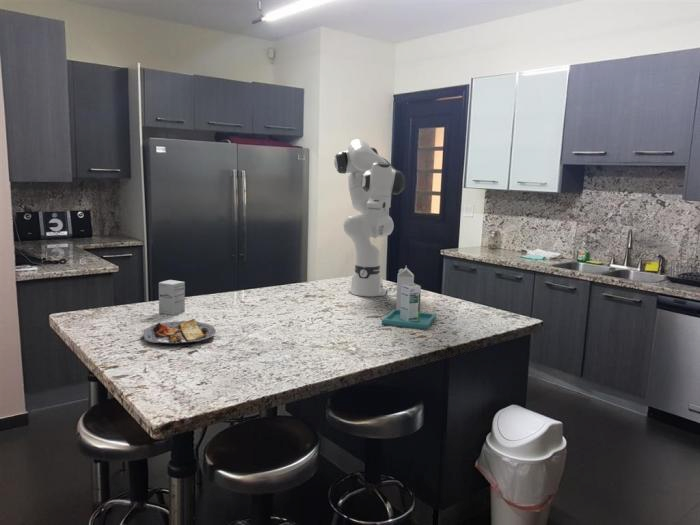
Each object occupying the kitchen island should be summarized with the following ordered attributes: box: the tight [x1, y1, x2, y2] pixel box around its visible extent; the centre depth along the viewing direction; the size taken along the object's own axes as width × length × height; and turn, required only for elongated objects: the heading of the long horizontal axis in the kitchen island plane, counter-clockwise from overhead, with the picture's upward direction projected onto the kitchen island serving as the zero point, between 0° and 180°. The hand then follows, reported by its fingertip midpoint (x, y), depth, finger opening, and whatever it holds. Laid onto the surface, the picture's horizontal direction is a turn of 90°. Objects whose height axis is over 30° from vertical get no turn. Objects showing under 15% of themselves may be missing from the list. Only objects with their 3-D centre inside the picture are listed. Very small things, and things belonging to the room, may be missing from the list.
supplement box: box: [158, 279, 186, 316], centre depth 214 cm, size 7×7×13 cm
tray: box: [381, 308, 437, 331], centre depth 214 cm, size 18×18×2 cm
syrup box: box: [400, 283, 422, 322], centre depth 213 cm, size 6×6×14 cm
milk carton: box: [395, 266, 415, 310], centre depth 234 cm, size 7×7×19 cm
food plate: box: [142, 318, 216, 345], centre depth 185 cm, size 25×23×4 cm
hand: (377, 236), depth 220 cm, fingers open, 8 cm apart
